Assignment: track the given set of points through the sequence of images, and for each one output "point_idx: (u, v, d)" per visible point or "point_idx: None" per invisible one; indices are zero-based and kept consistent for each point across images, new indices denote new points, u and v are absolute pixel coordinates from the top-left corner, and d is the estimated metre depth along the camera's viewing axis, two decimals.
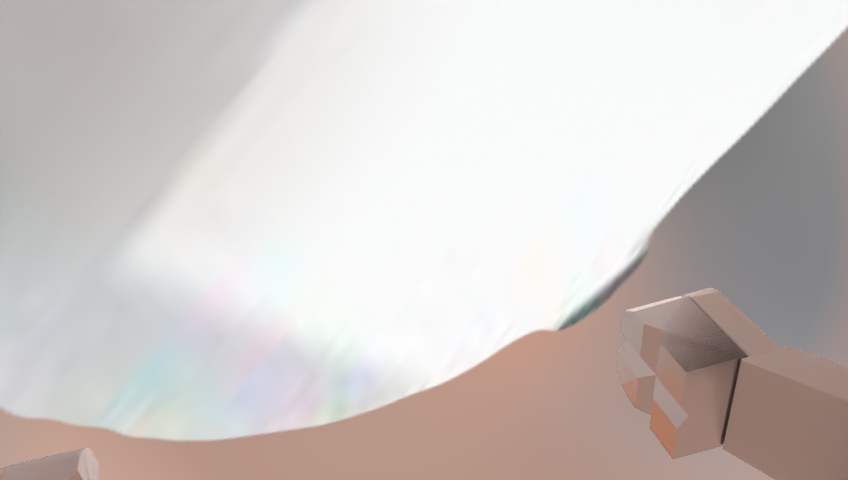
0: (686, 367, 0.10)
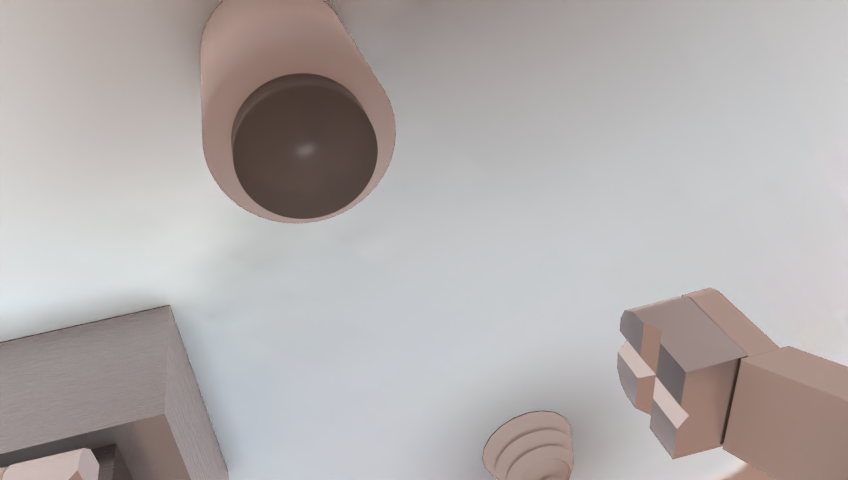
0: (686, 367, 0.10)
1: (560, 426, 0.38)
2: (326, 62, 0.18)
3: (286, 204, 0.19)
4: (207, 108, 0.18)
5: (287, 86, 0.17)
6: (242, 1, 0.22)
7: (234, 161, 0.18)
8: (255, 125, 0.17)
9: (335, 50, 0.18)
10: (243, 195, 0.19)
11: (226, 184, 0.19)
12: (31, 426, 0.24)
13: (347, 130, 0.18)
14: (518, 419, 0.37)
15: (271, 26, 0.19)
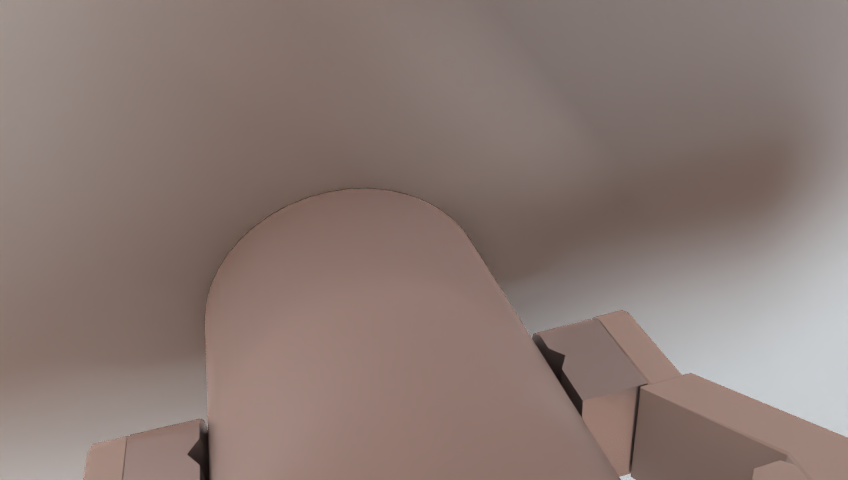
0: (585, 395, 0.10)
1: None
2: None
3: None
4: None
5: None
6: (295, 259, 0.10)
7: None
8: None
9: None
10: None
11: None
12: None
13: None
14: None
15: (395, 422, 0.07)
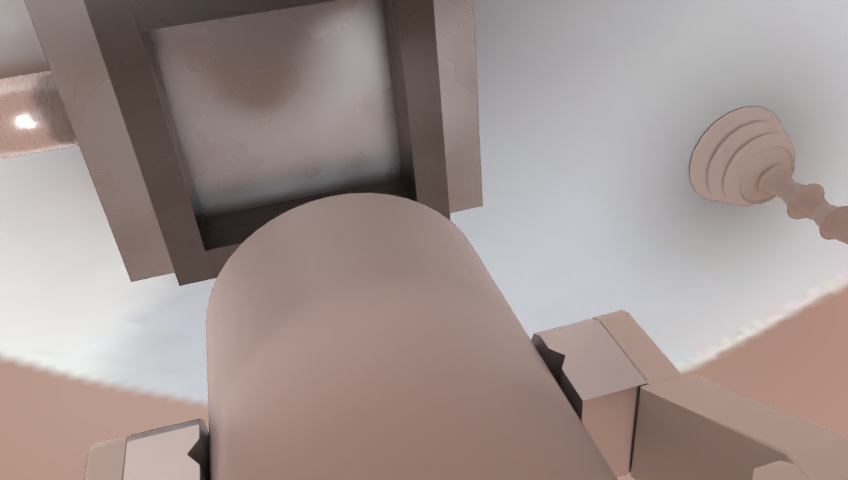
0: (585, 395, 0.10)
1: (778, 125, 0.34)
2: None
3: None
4: None
5: None
6: (297, 264, 0.10)
7: None
8: None
9: None
10: None
11: None
12: None
13: None
14: (735, 113, 0.34)
15: (396, 429, 0.07)
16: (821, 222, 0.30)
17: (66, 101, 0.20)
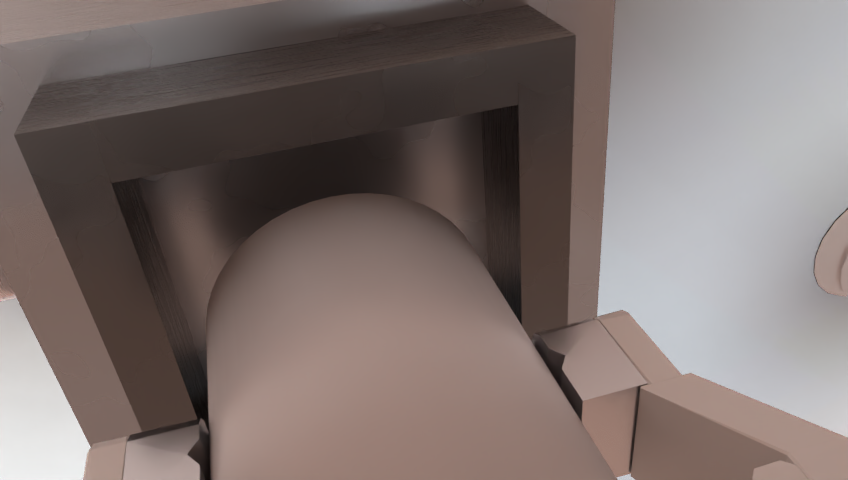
0: (584, 395, 0.10)
1: None
2: None
3: None
4: None
5: None
6: (297, 264, 0.10)
7: None
8: None
9: None
10: None
11: None
12: None
13: None
14: None
15: (396, 429, 0.07)
16: None
17: (5, 263, 0.13)
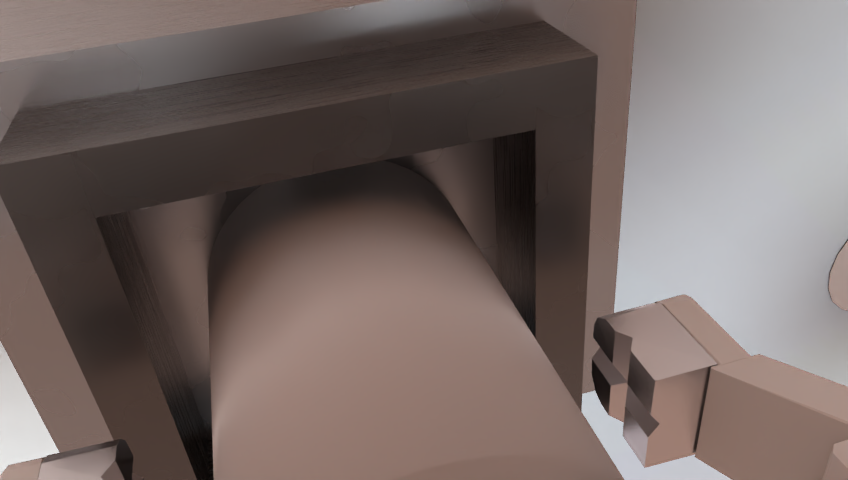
0: (656, 375, 0.10)
1: None
2: (524, 478, 0.07)
3: None
4: None
5: None
6: (290, 216, 0.11)
7: None
8: None
9: (546, 451, 0.07)
10: None
11: None
12: None
13: None
14: None
15: (374, 346, 0.08)
16: None
17: None
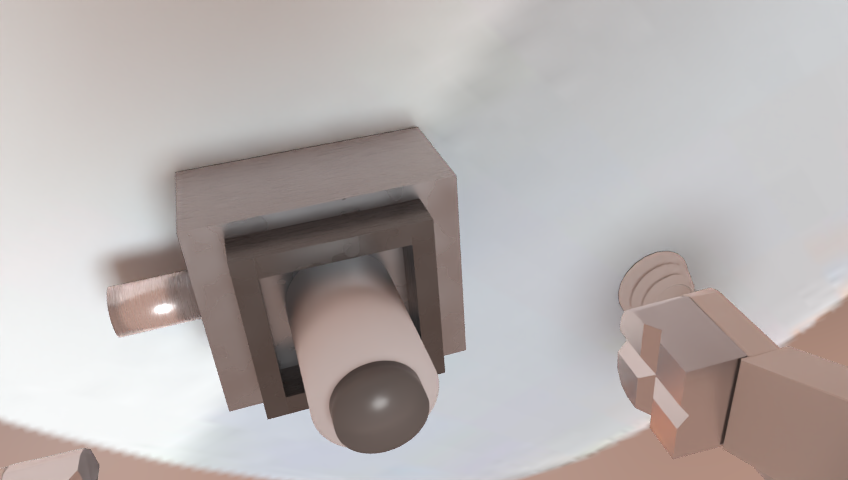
0: (686, 367, 0.10)
1: (682, 264, 0.46)
2: (395, 353, 0.27)
3: (367, 445, 0.27)
4: (315, 387, 0.26)
5: (372, 377, 0.26)
6: (322, 276, 0.31)
7: (335, 425, 0.26)
8: (350, 403, 0.26)
9: (401, 345, 0.27)
10: (334, 435, 0.28)
11: (323, 430, 0.27)
12: (356, 185, 0.32)
13: (409, 398, 0.27)
14: (650, 257, 0.46)
15: (353, 318, 0.28)
16: None
17: (201, 307, 0.31)
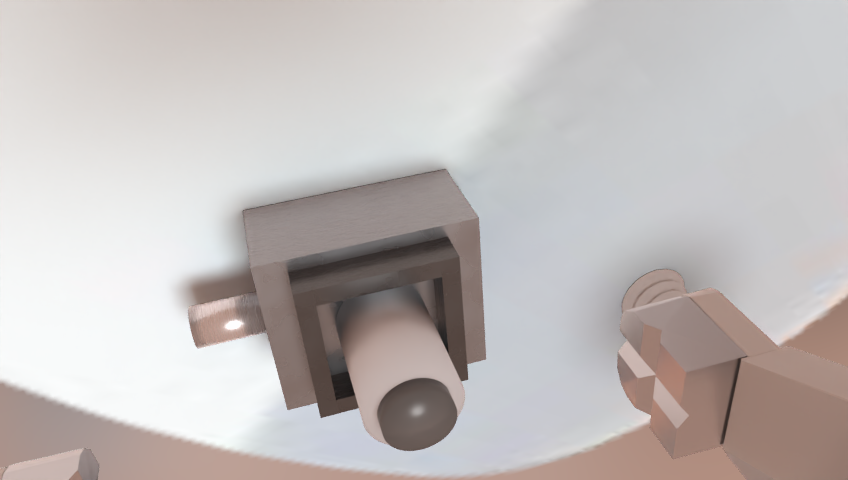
0: (686, 367, 0.10)
1: (679, 280, 0.52)
2: (429, 372, 0.33)
3: (407, 444, 0.34)
4: (366, 399, 0.33)
5: (412, 392, 0.32)
6: (367, 304, 0.37)
7: (382, 429, 0.33)
8: (394, 412, 0.32)
9: (434, 365, 0.33)
10: (380, 435, 0.34)
11: (372, 432, 0.34)
12: (395, 225, 0.38)
13: (441, 408, 0.33)
14: (650, 274, 0.52)
15: (395, 343, 0.34)
16: None
17: (267, 326, 0.38)
